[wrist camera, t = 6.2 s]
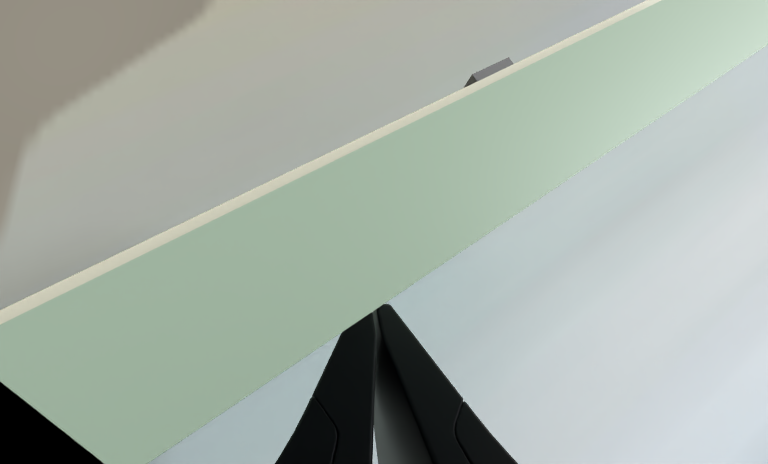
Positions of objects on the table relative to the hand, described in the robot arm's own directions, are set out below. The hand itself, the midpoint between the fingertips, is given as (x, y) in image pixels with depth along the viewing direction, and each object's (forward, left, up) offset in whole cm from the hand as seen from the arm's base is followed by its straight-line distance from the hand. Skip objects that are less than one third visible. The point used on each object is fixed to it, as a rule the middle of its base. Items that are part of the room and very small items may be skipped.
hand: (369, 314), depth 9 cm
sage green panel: (-1, +4, -6) cm, 7 cm away
